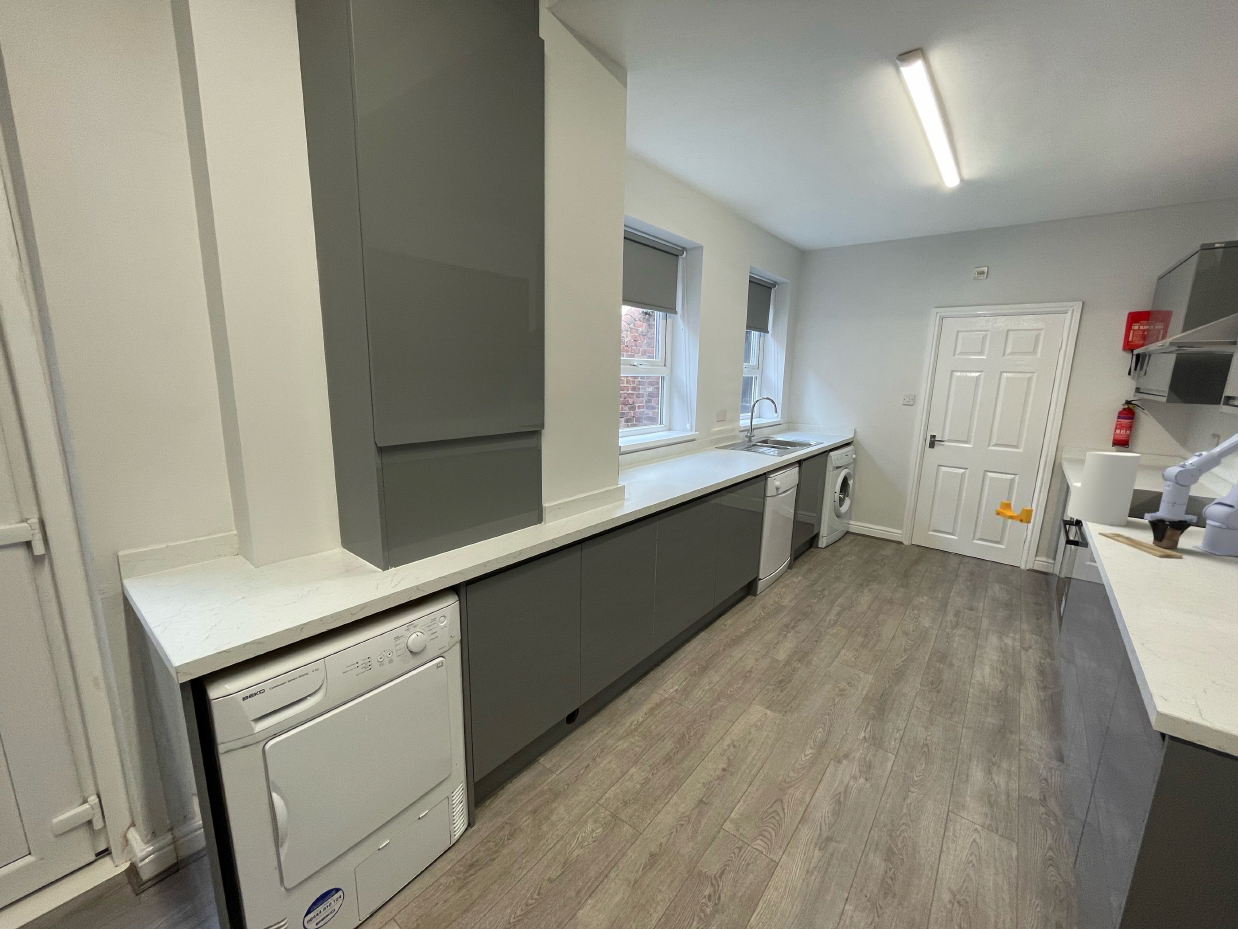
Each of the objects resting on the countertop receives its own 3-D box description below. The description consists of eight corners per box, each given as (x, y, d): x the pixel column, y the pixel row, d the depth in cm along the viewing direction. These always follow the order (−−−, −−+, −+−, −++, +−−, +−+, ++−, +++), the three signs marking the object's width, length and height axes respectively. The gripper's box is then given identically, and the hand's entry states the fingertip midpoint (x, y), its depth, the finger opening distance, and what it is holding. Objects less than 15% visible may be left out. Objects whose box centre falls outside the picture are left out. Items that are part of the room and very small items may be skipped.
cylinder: (1139, 527, 189) (1154, 456, 184) (1093, 526, 189) (1108, 455, 184) (1096, 515, 206) (1110, 449, 201) (1055, 514, 206) (1067, 448, 201)
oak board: (1118, 536, 178) (1119, 533, 178) (1182, 558, 156) (1182, 554, 156) (1098, 535, 178) (1098, 532, 178) (1158, 557, 157) (1159, 553, 157)
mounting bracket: (994, 516, 201) (997, 501, 200) (1004, 516, 202) (1007, 501, 200) (1019, 525, 190) (1022, 509, 188) (1030, 525, 190) (1033, 509, 189)
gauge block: (1164, 544, 168) (1168, 527, 167) (1177, 548, 164) (1181, 530, 163) (1152, 543, 168) (1156, 526, 167) (1164, 547, 164) (1168, 530, 163)
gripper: (1184, 500, 167) (1175, 538, 169) (1139, 498, 168) (1130, 536, 170) (1207, 505, 160) (1197, 545, 163) (1159, 503, 161) (1151, 543, 164)
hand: (1164, 541), depth 166 cm, fingers closed on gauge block, 4 cm apart
